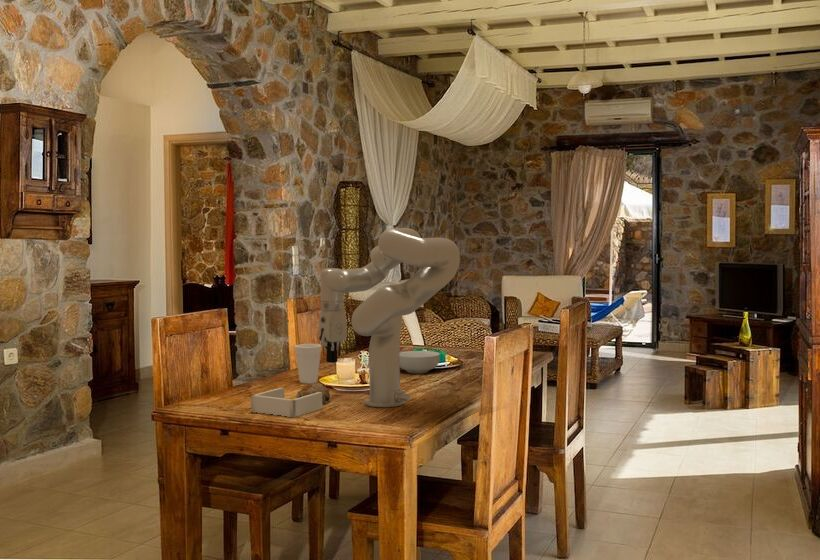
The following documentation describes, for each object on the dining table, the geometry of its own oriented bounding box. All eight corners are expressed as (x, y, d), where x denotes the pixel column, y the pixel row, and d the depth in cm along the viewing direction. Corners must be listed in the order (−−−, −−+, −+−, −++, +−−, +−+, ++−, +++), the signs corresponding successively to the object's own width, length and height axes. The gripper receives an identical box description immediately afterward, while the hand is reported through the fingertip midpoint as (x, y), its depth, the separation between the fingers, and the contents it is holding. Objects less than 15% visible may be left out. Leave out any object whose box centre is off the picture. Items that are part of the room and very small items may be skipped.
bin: (322, 408, 255) (322, 392, 254) (293, 417, 243) (292, 400, 242) (281, 403, 263) (281, 387, 263) (251, 411, 251) (251, 395, 251)
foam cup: (318, 378, 305) (318, 343, 304) (324, 383, 296) (323, 346, 295) (293, 380, 302) (292, 344, 301) (297, 385, 293) (297, 348, 292)
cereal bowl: (448, 371, 318) (448, 352, 317) (420, 377, 305) (420, 358, 305) (415, 366, 329) (415, 348, 329) (386, 372, 317) (386, 353, 316)
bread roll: (318, 417, 259) (328, 395, 258) (289, 402, 260) (299, 380, 259) (327, 410, 268) (337, 388, 267) (300, 396, 270) (309, 374, 269)
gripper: (327, 309, 263) (327, 366, 265) (354, 305, 276) (354, 360, 278) (308, 307, 267) (308, 364, 269) (336, 303, 280) (336, 357, 281)
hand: (331, 362), depth 273 cm, fingers closed
